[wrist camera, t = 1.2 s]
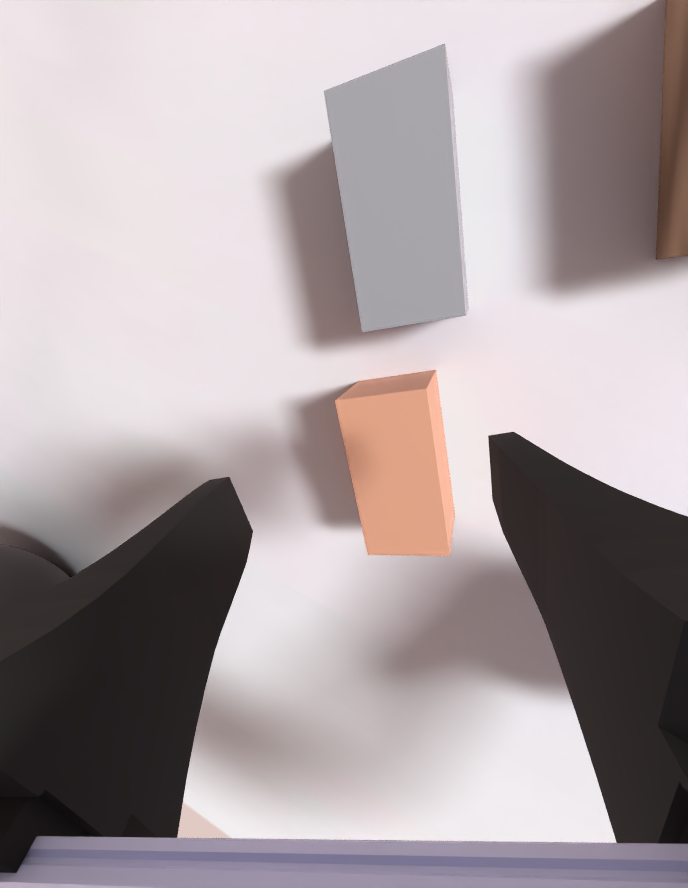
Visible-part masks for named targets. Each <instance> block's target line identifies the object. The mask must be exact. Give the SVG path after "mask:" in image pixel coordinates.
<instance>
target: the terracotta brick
mask: <svg viewBox="0 0 688 888" xmlns="http://www.w3.org/2000/svg"><path fill="white" fill-rule="evenodd" d="M335 404H336V409H337V413H338V418H339V423H340V427H341V432H342V437H343V441H344V446H345V451H346V455H347V460H348V465H349V469H350V474H351V479H352V483H353V488H354V493H355V497H356V502H357V506H358V511H359V516H360V520H361V525H362V530H363V534H364V539H365V544H366V548H367V553H368V555H419V556H450V550H451V542H452V534H453V525H454V517H455V511H454V503H453V496H452V488H451V481H450V473H449V465H448V458H447V450H446V442H445V435H444V427H443V419H442V412H441V404H440V396H439V389H438V381H437V373H436V370H432V371H425V372H419V373H412V374H405V375H398V376H391V377H384V378H378V379H371V380H364V381H358V382H357V383H356V384H354V385H353V386H352V387H351V388H350V389H348V390H347V391H346V392H345V393H343V394H342V395H341V396H340V397H339V398H337V399H336V400H335Z"/></svg>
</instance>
